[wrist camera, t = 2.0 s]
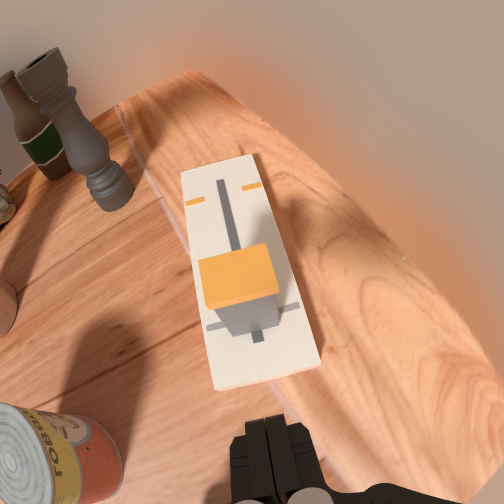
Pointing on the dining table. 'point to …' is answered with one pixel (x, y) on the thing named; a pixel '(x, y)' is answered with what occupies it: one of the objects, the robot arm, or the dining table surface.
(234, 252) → the fader knob
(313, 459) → the robot arm
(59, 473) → the canned food
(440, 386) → the dining table surface
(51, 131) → the beer bottle
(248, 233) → the fader console
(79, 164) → the candle holder
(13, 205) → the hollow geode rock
